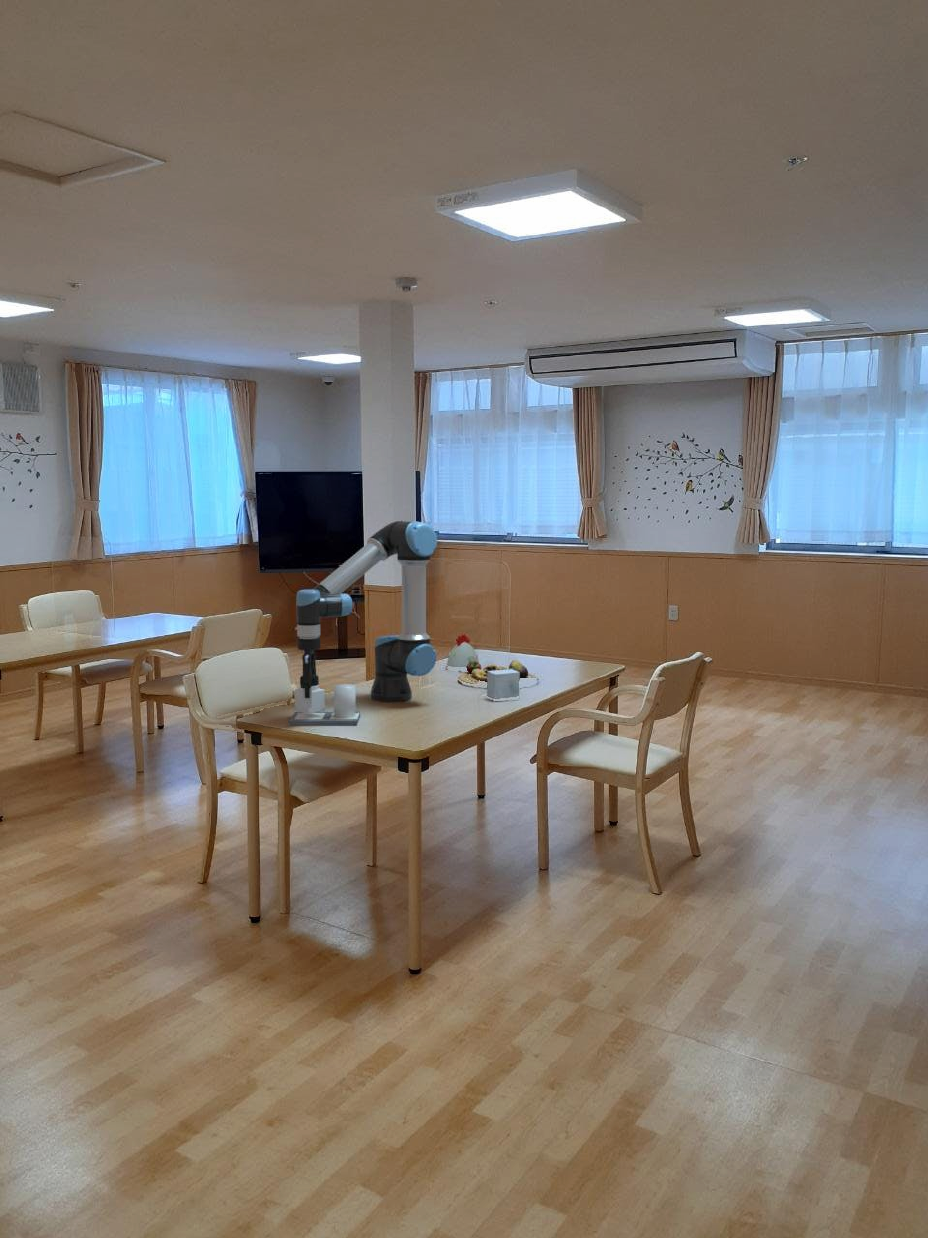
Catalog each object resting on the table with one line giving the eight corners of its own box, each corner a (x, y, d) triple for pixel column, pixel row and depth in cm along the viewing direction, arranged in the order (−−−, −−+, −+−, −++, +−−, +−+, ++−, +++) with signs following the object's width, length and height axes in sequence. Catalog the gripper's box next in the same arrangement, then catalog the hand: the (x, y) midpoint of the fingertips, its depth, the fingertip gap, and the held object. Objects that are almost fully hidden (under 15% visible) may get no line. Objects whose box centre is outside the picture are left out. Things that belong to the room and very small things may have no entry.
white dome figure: (440, 669, 431) (440, 634, 429) (461, 665, 442) (461, 631, 440) (465, 673, 422) (465, 638, 420) (486, 669, 433) (486, 634, 431)
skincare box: (494, 702, 366) (494, 673, 364) (486, 699, 372) (486, 670, 370) (520, 700, 370) (520, 671, 369) (511, 696, 376) (511, 668, 375)
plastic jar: (356, 713, 339) (356, 684, 338) (354, 718, 332) (354, 688, 331) (335, 713, 339) (335, 683, 338) (332, 718, 332) (332, 688, 331)
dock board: (360, 716, 343) (360, 711, 343) (356, 725, 329) (356, 720, 329) (294, 716, 342) (294, 711, 342) (288, 725, 329) (288, 720, 328)
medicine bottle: (325, 710, 335) (324, 674, 334) (308, 714, 330) (307, 677, 329) (311, 707, 340) (310, 672, 339) (294, 710, 335) (293, 675, 333)
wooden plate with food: (442, 680, 408) (442, 660, 407) (505, 671, 427) (505, 652, 426) (490, 695, 383) (490, 674, 381) (554, 685, 401) (555, 664, 400)
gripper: (301, 632, 343) (303, 697, 346) (292, 642, 321) (293, 711, 324) (324, 632, 343) (325, 697, 346) (316, 642, 321) (317, 711, 324)
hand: (309, 704), depth 335 cm, fingers closed on medicine bottle, 10 cm apart
